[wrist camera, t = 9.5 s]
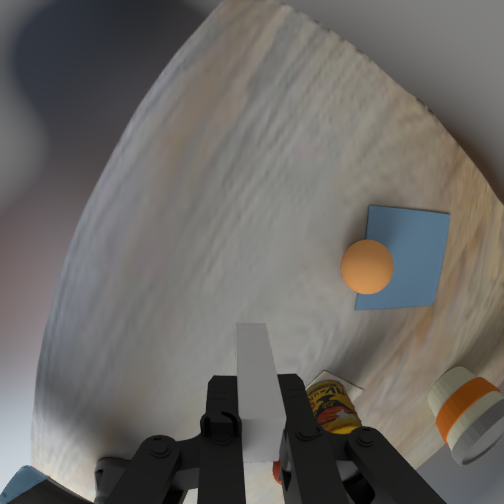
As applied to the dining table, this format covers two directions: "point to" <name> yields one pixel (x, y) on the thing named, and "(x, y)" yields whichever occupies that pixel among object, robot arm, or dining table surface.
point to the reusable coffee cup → (467, 414)
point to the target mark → (407, 256)
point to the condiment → (334, 403)
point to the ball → (367, 266)
